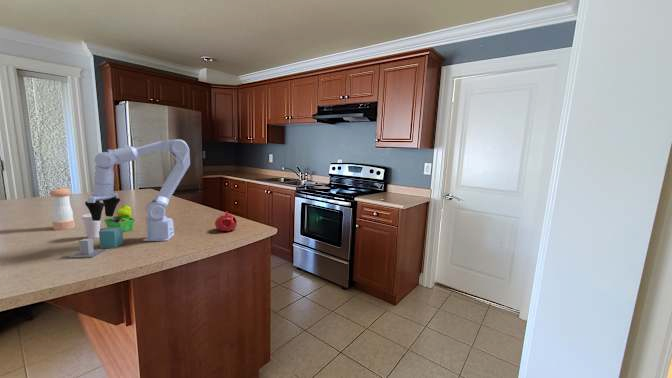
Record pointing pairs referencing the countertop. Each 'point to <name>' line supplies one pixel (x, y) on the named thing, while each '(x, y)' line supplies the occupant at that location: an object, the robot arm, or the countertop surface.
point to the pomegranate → (226, 222)
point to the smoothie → (91, 226)
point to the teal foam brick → (111, 237)
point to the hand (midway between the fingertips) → (103, 218)
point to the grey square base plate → (87, 249)
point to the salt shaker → (62, 209)
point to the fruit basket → (121, 219)
